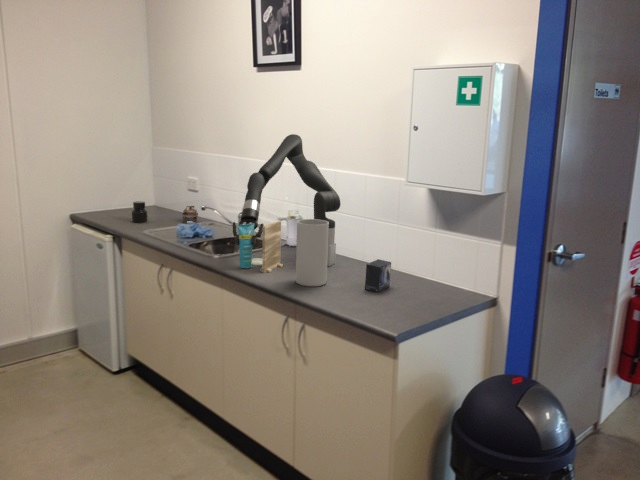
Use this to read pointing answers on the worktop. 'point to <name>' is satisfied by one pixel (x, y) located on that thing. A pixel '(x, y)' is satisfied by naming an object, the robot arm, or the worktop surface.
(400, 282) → the worktop surface
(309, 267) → the cylinder vase
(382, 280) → the small box
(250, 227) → the tube
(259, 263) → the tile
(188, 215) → the rusty gas canister
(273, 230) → the screen
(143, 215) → the ink bottle
